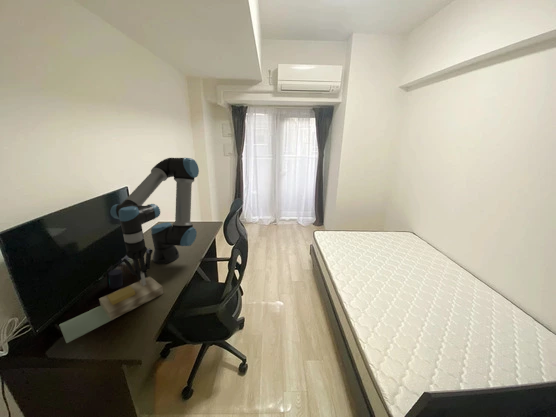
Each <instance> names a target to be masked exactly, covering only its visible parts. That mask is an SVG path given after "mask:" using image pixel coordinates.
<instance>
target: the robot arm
mask: <svg viewBox="0 0 556 417" xmlns="http://www.w3.org/2000/svg"><path fill="white" fill-rule="evenodd" d="M199 172H200V170H199V165H198V163H197V161H196V160H195V159H193V157H192V158H190V157H167V158H164V159H163V160H161V161H159V162H158V163H156V164H155V165H154V166H153V167H152V168H151V169H150V173H149V174H148V175H147V176H146V178H144V179H143V181H141V183H140V184H139V185H138V186H137V187H136V188H135V189H134V190H133V191H132V192H130V194H129V195H128V196H127V197H126V198H125V200H123V202H121V203H117V204H114V205H112V206H111V207H110V211H109V212H110V216H111V217H112V218H113V219H117V220H119V222H120V226H121V230H122V231H121V232H122V235H123V240H124V245H125V246H124V247H125V249H126V251H125V256H124V257H121V261H122V262H123V263H125V265H126V267H127V269H128V271H129V272H130V274H131V275H132V276H136V279H137V280H138V281H140V283H141V285H143V286H144V285H146V280H145V278H147V277H148V274H147V271H149V270H150V269H151V259H152V261H153V262H154V264H158V265H159V264H160V265H163V264H169V263H171V262H174V261H176V260H177V259H178V258H179V256H180V253H179V250H178V249H177V247H176V246H178V247H190V246H191V245H193V243H194V242H195V240H196V238H197V230H196V228H195V227H194V226H193V222H191V217H192V216H191V215H192V212H191V211H192V208H191V207H192V189H193V188H192V187H193V186H192V184H193V183H194V182H195V178H197V177H198V176H199ZM172 177H173V180H174V181H175V183H176V187H175V188H176V190H175V214H174V215H175V217H174V220H175V221H174V222H173V223H171V222H170V221H169V222H161V223H158V224H156V225H154V226H152V227H151V229H150V232H151V233H150V234H151V238H152V244H153V248H154V249H152V248H147V246H146V242H145V238H144V231H143V226H142V225H143V224H146V223H148V222H151V221H153V220H155V219H157V218H158V217H160V215H161V209H160V207H159V206H158V205H157V204H155V203H151V204H150V203H149V204H147V205H144V203H145V202H146V201H147V200H148V199H149V198H150V196H152V195H153V193H154V192H155V191H156V189H157V188H158V187H159V186H160V185H161V183H162V182H165V181H167V179H169V178H172ZM152 254H153V256H152ZM129 258H130V259H131V260H132V262H133V266H132V264H131V263H130V261H129V260H130V259H129ZM139 264H140V265H139ZM133 267H134V268H133Z"/></svg>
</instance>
